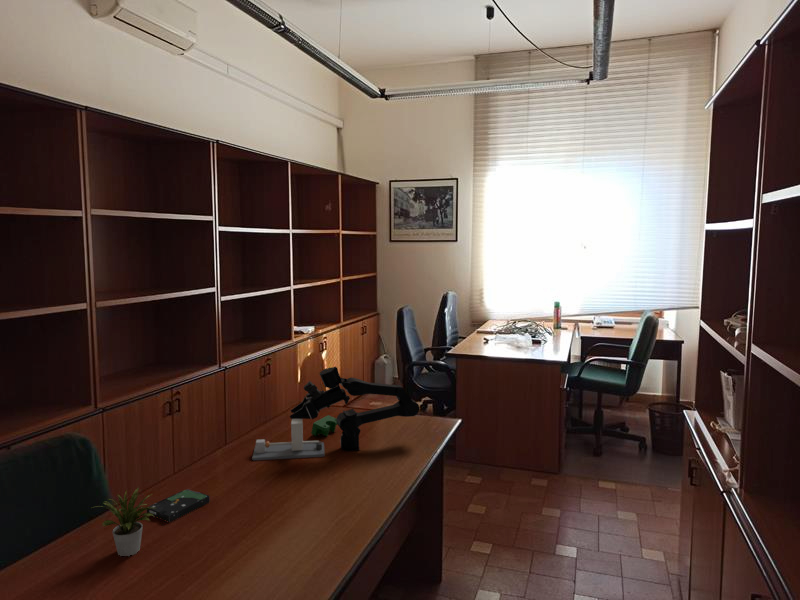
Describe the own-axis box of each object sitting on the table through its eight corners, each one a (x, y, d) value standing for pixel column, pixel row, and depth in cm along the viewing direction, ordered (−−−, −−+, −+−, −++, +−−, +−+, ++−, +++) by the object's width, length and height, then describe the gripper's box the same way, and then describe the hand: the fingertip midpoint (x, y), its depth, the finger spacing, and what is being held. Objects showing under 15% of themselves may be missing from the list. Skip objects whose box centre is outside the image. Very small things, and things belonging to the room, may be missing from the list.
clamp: (323, 447, 234) (323, 431, 229) (311, 441, 236) (310, 425, 231) (340, 428, 243) (339, 412, 238) (328, 423, 245) (327, 407, 240)
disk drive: (170, 525, 164) (210, 503, 177) (169, 515, 164) (210, 494, 176) (146, 516, 169) (187, 495, 182) (145, 507, 169) (186, 487, 181)
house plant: (108, 577, 138) (104, 512, 136) (84, 555, 147) (80, 494, 145) (165, 552, 149) (162, 491, 147) (140, 533, 158) (137, 476, 156)
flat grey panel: (324, 444, 224) (323, 432, 224) (324, 456, 213) (324, 443, 212) (255, 448, 221) (255, 435, 220) (252, 460, 209) (251, 447, 208)
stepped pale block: (303, 444, 220) (302, 418, 219) (302, 450, 214) (302, 423, 213) (292, 445, 220) (291, 418, 218) (291, 451, 214) (291, 423, 212)
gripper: (320, 374, 225) (283, 390, 223) (321, 382, 207) (280, 400, 205) (331, 399, 226) (294, 416, 224) (333, 410, 208) (292, 428, 206)
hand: (290, 414), depth 215 cm, fingers open, 9 cm apart
